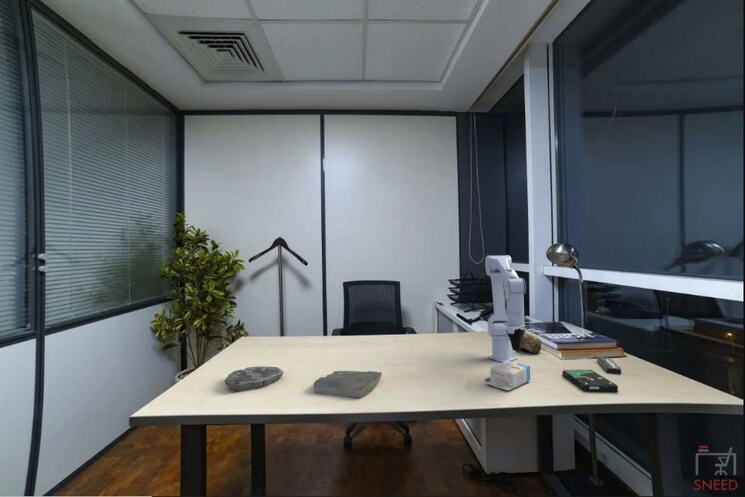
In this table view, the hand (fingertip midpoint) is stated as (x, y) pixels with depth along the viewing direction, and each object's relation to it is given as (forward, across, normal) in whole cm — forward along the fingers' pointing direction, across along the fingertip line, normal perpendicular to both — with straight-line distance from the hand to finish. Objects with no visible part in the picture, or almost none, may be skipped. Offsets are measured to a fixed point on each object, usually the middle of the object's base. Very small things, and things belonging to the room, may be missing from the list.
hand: (516, 350), depth 116 cm
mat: (+10, +6, -2) cm, 12 cm away
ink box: (+7, -1, +1) cm, 7 cm away
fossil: (+11, +41, -44) cm, 61 cm away
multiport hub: (+10, -32, +25) cm, 42 cm away
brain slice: (+10, +59, -74) cm, 95 cm away
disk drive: (+11, -9, +21) cm, 25 cm away
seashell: (+10, -38, -4) cm, 40 cm away
